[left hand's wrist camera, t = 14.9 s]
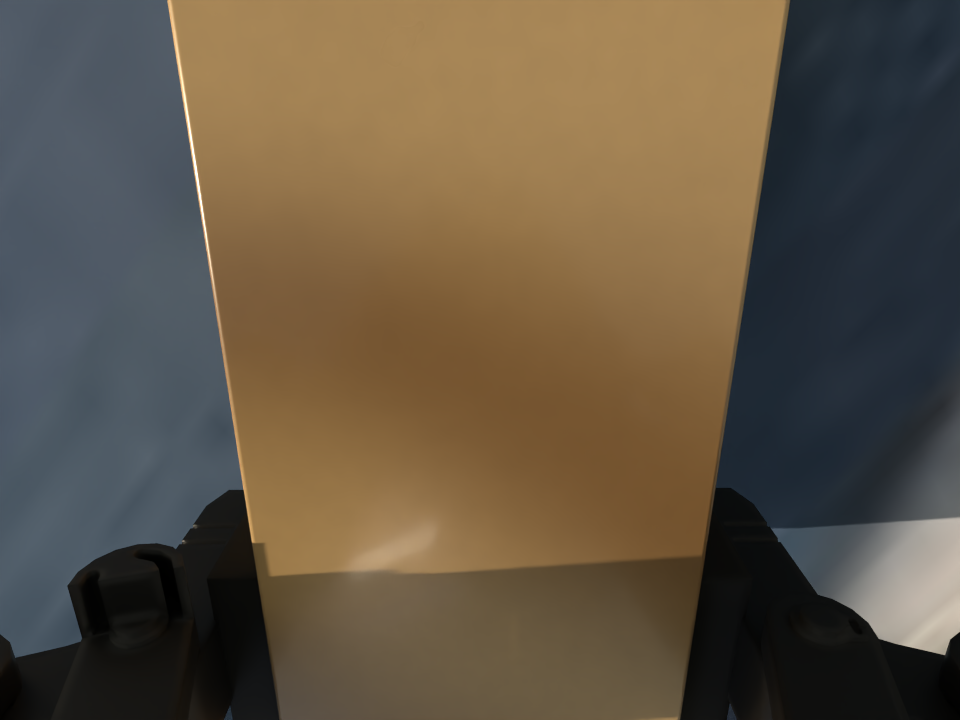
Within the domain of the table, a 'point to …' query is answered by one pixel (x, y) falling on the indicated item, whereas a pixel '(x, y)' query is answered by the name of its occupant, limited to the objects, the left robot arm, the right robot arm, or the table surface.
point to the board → (479, 333)
